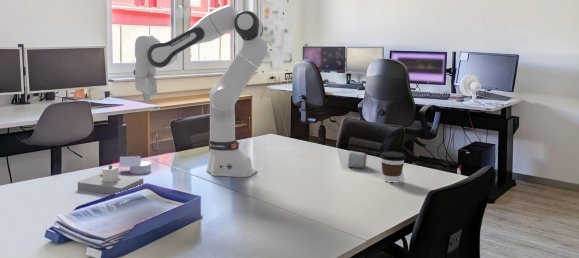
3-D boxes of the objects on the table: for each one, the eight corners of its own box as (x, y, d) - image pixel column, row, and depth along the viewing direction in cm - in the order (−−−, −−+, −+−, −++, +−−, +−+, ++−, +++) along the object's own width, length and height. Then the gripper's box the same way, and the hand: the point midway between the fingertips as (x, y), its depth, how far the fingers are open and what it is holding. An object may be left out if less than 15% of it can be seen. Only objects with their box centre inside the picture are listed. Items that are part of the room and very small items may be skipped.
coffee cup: (404, 185, 208) (406, 158, 206) (378, 183, 210) (379, 156, 208) (403, 178, 219) (405, 152, 216) (378, 176, 221) (380, 150, 218)
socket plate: (143, 185, 200) (143, 176, 199) (122, 195, 186) (121, 186, 186) (101, 180, 205) (100, 171, 204) (77, 189, 192) (77, 180, 191)
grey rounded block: (365, 170, 231) (366, 154, 230) (347, 168, 233) (348, 152, 232) (366, 164, 241) (367, 149, 240) (350, 163, 243) (350, 148, 242)
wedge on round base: (119, 174, 214) (150, 173, 217) (118, 159, 213) (150, 158, 216) (121, 168, 223) (151, 167, 226) (121, 154, 221) (151, 153, 224)
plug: (119, 183, 197) (118, 164, 195) (112, 186, 193) (111, 167, 192) (109, 182, 198) (109, 163, 197) (103, 185, 194) (102, 166, 193)
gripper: (160, 73, 214) (161, 105, 217) (145, 70, 231) (146, 99, 234) (145, 74, 211) (146, 106, 213) (132, 70, 228) (133, 100, 230)
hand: (146, 102), depth 224 cm, fingers closed
